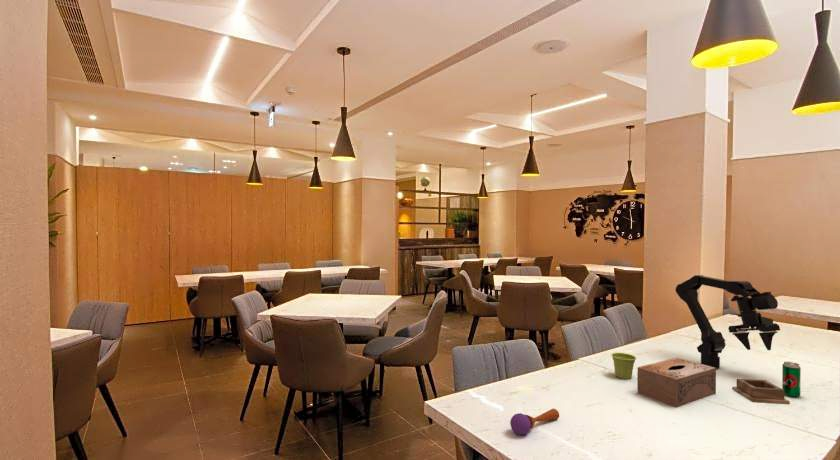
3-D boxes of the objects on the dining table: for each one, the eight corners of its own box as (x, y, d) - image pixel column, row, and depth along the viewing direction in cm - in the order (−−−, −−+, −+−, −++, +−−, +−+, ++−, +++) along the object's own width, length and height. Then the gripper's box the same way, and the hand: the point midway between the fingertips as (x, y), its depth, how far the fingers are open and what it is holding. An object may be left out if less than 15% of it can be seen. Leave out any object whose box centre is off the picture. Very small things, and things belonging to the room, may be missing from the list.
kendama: (564, 410, 133) (523, 422, 121) (560, 427, 133) (519, 441, 121) (549, 400, 137) (508, 411, 125) (545, 417, 138) (504, 429, 126)
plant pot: (635, 374, 176) (635, 354, 176) (636, 382, 168) (636, 360, 168) (611, 371, 180) (611, 351, 180) (611, 378, 172) (611, 357, 172)
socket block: (732, 389, 161) (732, 377, 161) (766, 391, 159) (766, 379, 159) (752, 401, 149) (752, 389, 149) (789, 404, 147) (789, 391, 147)
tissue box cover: (676, 408, 144) (676, 379, 144) (637, 393, 156) (637, 367, 156) (715, 394, 156) (716, 367, 156) (676, 381, 169) (676, 357, 169)
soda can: (803, 398, 152) (804, 366, 152) (787, 397, 153) (788, 365, 153) (794, 393, 157) (794, 361, 157) (779, 392, 158) (779, 360, 158)
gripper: (786, 307, 165) (798, 348, 161) (745, 311, 183) (756, 347, 179) (761, 310, 163) (773, 351, 159) (723, 313, 181) (733, 350, 177)
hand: (758, 350), depth 169 cm, fingers open, 9 cm apart
